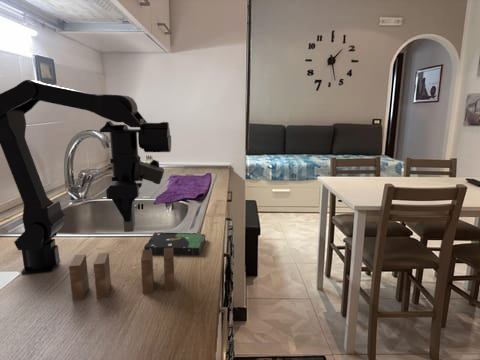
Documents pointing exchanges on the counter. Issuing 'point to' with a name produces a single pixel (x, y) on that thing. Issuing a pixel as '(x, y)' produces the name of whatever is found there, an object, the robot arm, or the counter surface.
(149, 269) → the domino
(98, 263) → the domino
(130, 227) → the domino
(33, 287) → the counter surface
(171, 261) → the domino
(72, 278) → the domino
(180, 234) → the disk drive
